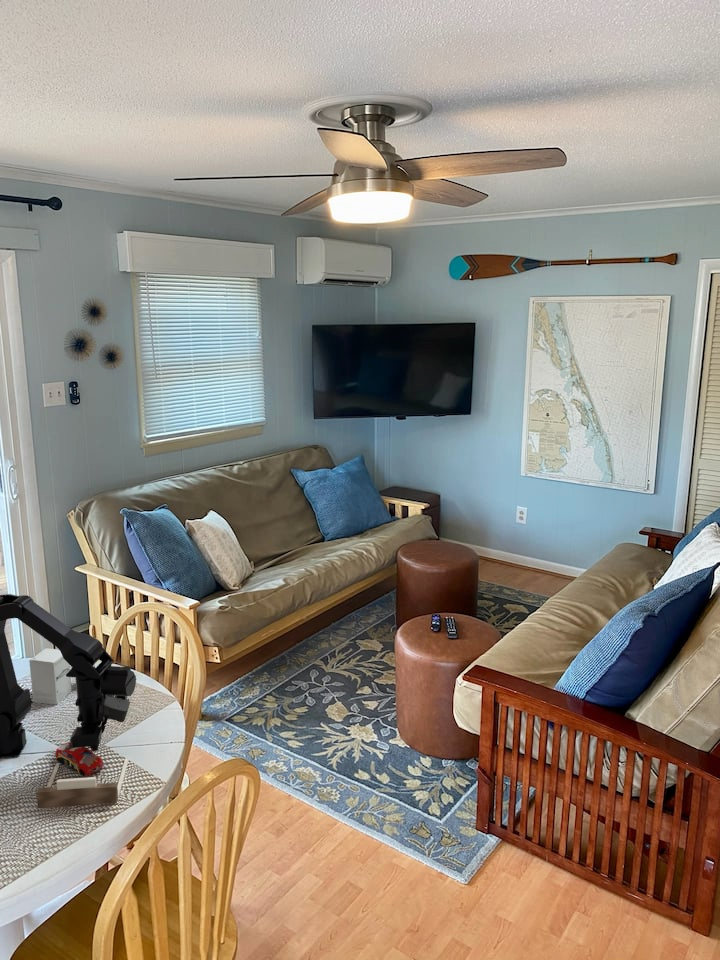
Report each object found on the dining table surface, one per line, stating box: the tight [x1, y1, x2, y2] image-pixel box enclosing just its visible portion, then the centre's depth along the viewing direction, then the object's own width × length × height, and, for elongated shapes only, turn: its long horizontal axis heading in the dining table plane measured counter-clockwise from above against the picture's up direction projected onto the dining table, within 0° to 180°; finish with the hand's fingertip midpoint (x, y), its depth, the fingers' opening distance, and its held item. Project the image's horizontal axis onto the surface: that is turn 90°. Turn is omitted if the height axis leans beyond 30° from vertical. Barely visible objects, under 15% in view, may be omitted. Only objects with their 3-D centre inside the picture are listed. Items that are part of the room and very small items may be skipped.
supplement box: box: [29, 647, 72, 706], centre depth 198 cm, size 7×7×13 cm
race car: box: [55, 741, 104, 778], centre depth 171 cm, size 13×5×4 cm, turn 56°
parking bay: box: [36, 757, 130, 809], centre depth 164 cm, size 16×16×6 cm
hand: (95, 750), depth 174 cm, fingers closed
